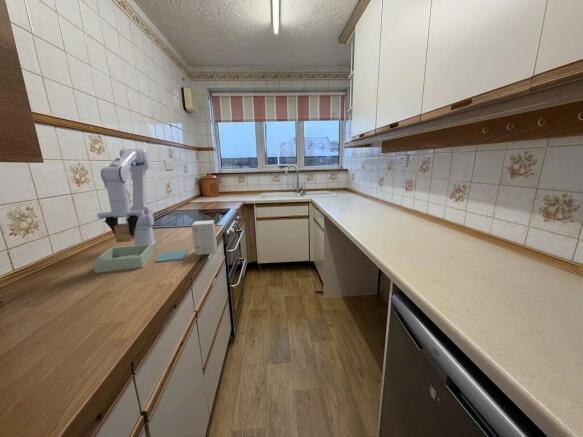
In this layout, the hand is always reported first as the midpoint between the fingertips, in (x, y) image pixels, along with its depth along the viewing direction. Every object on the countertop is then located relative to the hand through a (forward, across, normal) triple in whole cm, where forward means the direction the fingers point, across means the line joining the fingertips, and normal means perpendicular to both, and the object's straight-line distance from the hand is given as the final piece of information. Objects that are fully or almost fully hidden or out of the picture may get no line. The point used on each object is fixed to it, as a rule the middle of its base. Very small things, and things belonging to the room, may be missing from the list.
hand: (125, 235), depth 91 cm
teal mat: (+10, +15, +1) cm, 18 cm away
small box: (+11, +28, +2) cm, 30 cm away
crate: (+11, -1, 0) cm, 11 cm away
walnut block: (+2, 0, 0) cm, 2 cm away
